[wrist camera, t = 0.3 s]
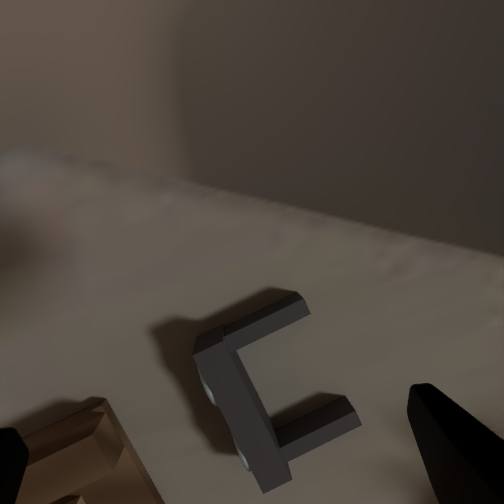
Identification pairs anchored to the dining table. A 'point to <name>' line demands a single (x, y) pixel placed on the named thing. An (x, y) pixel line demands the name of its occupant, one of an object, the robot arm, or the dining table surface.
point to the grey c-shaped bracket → (249, 404)
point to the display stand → (85, 463)
